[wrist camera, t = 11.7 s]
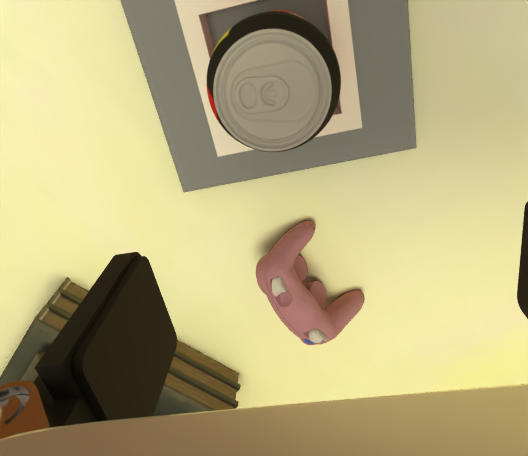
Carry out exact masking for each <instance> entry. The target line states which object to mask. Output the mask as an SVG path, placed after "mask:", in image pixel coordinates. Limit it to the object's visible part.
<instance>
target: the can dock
mask: <svg viewBox="0 0 528 456" xmlns="http://www.w3.org/2000/svg"><path fill="white" fill-rule="evenodd" d="M121 3H122V6H123V9H124V12H125V15H126V18H127V21H128V24H129V27H130V30H131V33H132V36H133V40H134V43H135V46H136V49H137V52H138V55H139V58H140V61H141V64H142V67H143V70H144V73H145V76H146V79H147V82H148V85H149V88H150V91H151V94H152V97H153V100H154V103H155V106H156V109H157V112H158V116H159V119H160V122H161V125H162V128H163V131H164V134H165V137H166V140H167V143H168V146H169V149H170V152H171V155H172V158H173V161H174V164H175V167H176V170H177V173H178V176H179V179H180V182H181V185H182V188H183V192H188V191H193V190H199V189H204V188H209V187H214V186H220V185H225V184H230V183H235V182H241V181H246V180H251V179H256V178H261V177H267V176H272V175H277V174H282V173H288V172H293V171H298V170H303V169H309V168H314V167H319V166H324V165H329V164H335V163H340V162H345V161H350V160H356V159H361V158H366V157H371V156H377V155H382V154H387V153H392V152H397V151H403V150H408V149H413V148H416V132H415V115H414V98H413V81H412V64H411V47H410V30H409V13H408V0H121ZM270 10H285V11H290V12H293V13H295V14H298V15H299V16H301V17H303V18H304V19H306V20H307V21H308V22H310V23H311V24H313V25H314V26H315V27H316V28H318V29H319V30H320V31H321V32H322V33H323V34H324V36H325V37H326V38H327V40H328V41H329V42H330V44H331V46H332V47H333V50H334V52H335V54H336V57H337V59H338V63H339V67H340V73H341V89H340V96H339V100H338V104H337V107H336V109H335V111H334V114H333V115H332V117H331V119H330V121H329V122H328V124H327V125H326V126H325V127H324V129H323V130H322V131H321V132H320V133H319V134H318V135H317V136H315V137H314V138H313V139H312V140H310V141H309V142H307V143H305V144H304V145H302V146H300V147H297V148H295V149H291V150H288V151H282V152H265V151H259V150H255V149H252V148H249V147H247V146H245V145H243V144H241V143H240V142H238V141H237V140H235V139H234V138H232V137H231V136H230V135H229V134H228V133H227V132H226V131H225V130H224V129H223V127H222V126H221V125H220V123H219V122H218V120H217V119H216V117H215V115H214V113H213V111H212V108H211V106H210V103H209V99H208V94H207V80H206V79H207V70H208V65H209V61H210V58H211V55H212V53H213V51H214V49H215V47H216V45H217V44H218V42H219V40H220V39H221V38H222V37H223V35H224V34H225V33H226V32H227V31H228V30H229V29H230V28H231V27H233V26H234V25H235V24H237V23H238V22H239V21H241V20H243V19H245V18H247V17H249V16H252V15H255V14H258V13H262V12H265V11H270Z"/></svg>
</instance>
